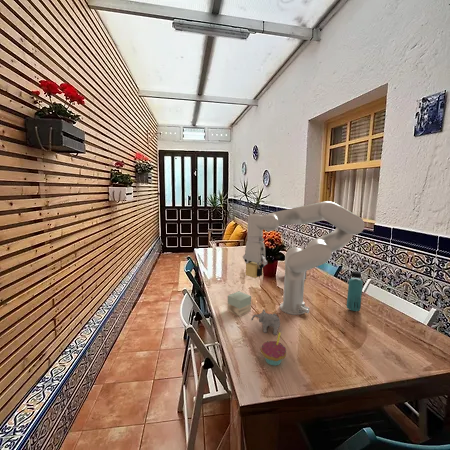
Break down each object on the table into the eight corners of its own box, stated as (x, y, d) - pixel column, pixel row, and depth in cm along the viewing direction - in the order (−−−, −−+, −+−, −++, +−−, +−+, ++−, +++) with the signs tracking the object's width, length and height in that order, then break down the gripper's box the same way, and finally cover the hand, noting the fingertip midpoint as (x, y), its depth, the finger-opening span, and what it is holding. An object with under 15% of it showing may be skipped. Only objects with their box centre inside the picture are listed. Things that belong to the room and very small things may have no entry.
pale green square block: (250, 303, 126) (251, 296, 125) (239, 308, 120) (239, 300, 120) (238, 298, 131) (239, 291, 131) (227, 303, 126) (227, 295, 125)
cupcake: (282, 354, 93) (283, 323, 92) (288, 371, 85) (290, 337, 83) (258, 354, 93) (259, 323, 91) (262, 371, 85) (264, 337, 83)
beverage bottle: (352, 315, 124) (356, 275, 121) (342, 308, 130) (346, 270, 127) (363, 313, 126) (367, 274, 123) (353, 307, 132) (357, 269, 129)
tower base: (250, 311, 126) (250, 304, 125) (239, 317, 121) (239, 309, 120) (238, 306, 132) (239, 298, 131) (227, 311, 126) (227, 303, 126)
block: (262, 275, 130) (262, 263, 129) (254, 278, 126) (255, 266, 125) (253, 272, 135) (253, 261, 134) (245, 275, 131) (245, 263, 130)
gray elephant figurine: (282, 336, 105) (283, 319, 104) (252, 336, 105) (253, 318, 104) (277, 324, 114) (278, 308, 113) (250, 324, 114) (251, 307, 113)
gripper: (273, 240, 124) (272, 276, 127) (247, 235, 137) (246, 268, 139) (263, 243, 119) (262, 280, 122) (237, 237, 131) (236, 271, 134)
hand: (254, 273), depth 130 cm, fingers closed on block, 6 cm apart
